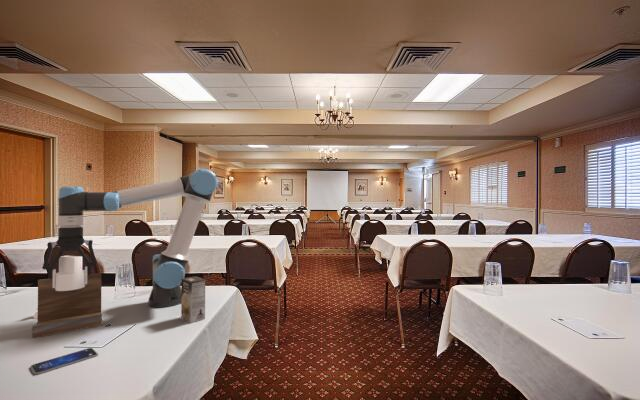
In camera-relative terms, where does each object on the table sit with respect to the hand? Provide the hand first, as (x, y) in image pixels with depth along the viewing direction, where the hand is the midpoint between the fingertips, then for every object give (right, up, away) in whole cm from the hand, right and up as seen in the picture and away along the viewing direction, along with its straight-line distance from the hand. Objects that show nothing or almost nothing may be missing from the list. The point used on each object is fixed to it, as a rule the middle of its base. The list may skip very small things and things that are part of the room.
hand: (70, 285), depth 122 cm
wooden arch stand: (0, -15, 0) cm, 15 cm away
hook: (-19, -16, +11) cm, 27 cm away
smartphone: (+21, -16, -28) cm, 38 cm away
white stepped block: (0, -1, 0) cm, 1 cm away
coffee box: (+44, -16, +7) cm, 48 cm away
